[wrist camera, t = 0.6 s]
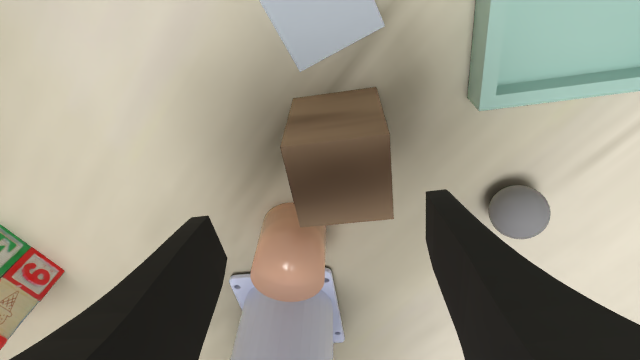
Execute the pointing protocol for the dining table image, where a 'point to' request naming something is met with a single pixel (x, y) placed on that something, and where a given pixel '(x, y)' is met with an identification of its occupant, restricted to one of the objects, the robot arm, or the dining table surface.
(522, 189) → the grey ball
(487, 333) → the robot arm
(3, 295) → the stack of blocks
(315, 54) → the slate block
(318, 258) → the peach rounded cylinder
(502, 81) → the teal tray
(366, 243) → the dining table surface
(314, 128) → the walnut block
